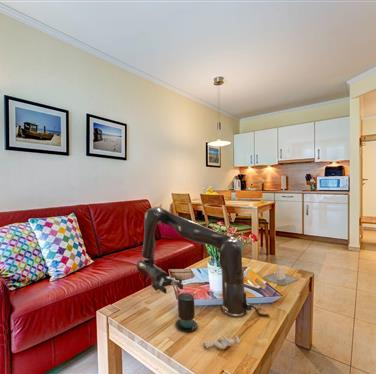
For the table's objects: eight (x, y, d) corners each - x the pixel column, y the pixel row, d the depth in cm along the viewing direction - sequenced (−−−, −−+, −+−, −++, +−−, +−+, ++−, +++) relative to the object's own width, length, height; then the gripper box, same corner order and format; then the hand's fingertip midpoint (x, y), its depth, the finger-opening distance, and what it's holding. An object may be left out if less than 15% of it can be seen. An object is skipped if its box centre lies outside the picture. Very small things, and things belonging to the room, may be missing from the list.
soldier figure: (203, 343, 88) (231, 330, 89) (210, 358, 85) (239, 344, 86) (204, 339, 82) (234, 326, 83) (211, 355, 79) (242, 341, 80)
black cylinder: (191, 310, 101) (191, 292, 100) (196, 319, 94) (195, 300, 94) (176, 311, 100) (176, 293, 100) (180, 320, 94) (179, 301, 93)
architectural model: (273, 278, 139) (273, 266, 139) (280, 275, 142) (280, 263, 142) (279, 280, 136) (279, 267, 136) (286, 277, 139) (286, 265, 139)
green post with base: (193, 319, 102) (192, 292, 101) (199, 331, 93) (198, 302, 93) (174, 320, 101) (173, 293, 101) (179, 333, 93) (178, 303, 92)
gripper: (145, 271, 118) (159, 284, 103) (170, 266, 123) (187, 278, 108) (145, 285, 118) (160, 300, 103) (170, 280, 124) (187, 294, 108)
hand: (174, 289), depth 106 cm, fingers open, 8 cm apart
